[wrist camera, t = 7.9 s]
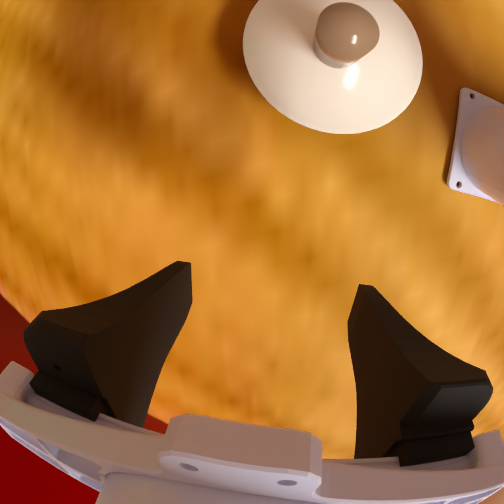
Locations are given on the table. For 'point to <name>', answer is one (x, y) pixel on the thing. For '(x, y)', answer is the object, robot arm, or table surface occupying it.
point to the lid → (334, 61)
